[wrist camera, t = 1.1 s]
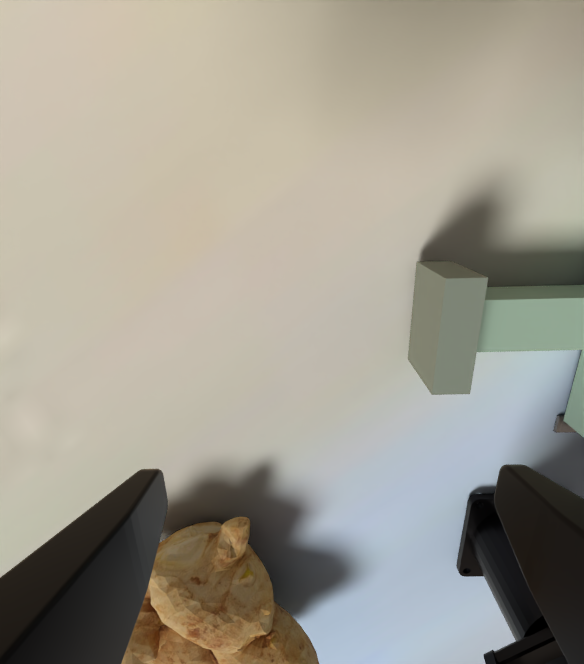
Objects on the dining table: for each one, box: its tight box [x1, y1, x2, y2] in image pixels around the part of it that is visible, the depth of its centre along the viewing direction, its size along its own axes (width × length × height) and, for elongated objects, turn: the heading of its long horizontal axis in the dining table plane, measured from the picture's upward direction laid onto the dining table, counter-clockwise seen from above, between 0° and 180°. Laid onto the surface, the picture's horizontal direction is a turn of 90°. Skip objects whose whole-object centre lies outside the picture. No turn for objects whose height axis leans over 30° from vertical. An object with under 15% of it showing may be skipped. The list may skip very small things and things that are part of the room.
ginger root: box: [121, 517, 319, 664], centre depth 23 cm, size 16×16×8 cm
